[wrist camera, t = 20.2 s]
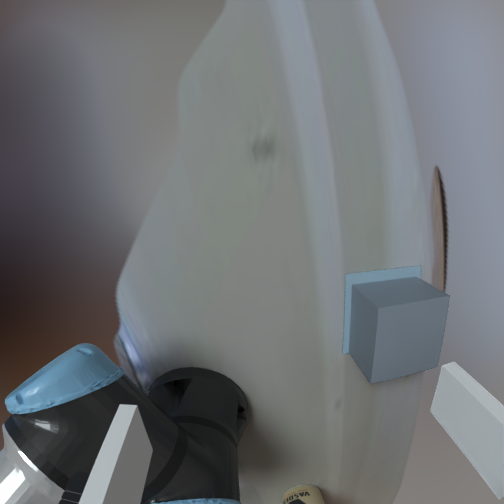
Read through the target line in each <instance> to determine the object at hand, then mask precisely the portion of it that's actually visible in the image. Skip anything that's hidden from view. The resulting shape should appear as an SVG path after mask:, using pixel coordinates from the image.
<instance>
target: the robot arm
mask: <svg viewBox="0 0 504 504" xmlns="http://www.w3.org/2000/svg"><path fill="white" fill-rule="evenodd" d="M5 404H6V406H7V409H8V411H9V412H10V413H12V415H11V416H10V417H9V418H8V419H7V420H6V422H5V423H4V424H3V425H2V427H3V435H4V442H5V443H4V448H3V450H2V451H1V452H0V504H241V502H240V492H239V477H238V459H237V445H238V443H239V441H240V438H241V436H242V434H243V432H244V429H245V427H246V424H247V419H248V411H247V402H246V399H245V396H244V394H243V392H242V391H241V389H240V388H239V387H238V386H237V385H236V384H235V383H234V382H233V381H231V380H230V379H229V378H227V377H225V376H224V375H222V374H220V373H217V372H214V371H211V370H208V369H203V368H180V369H175V370H172V371H169V372H167V373H165V374H163V375H162V376H160V377H159V378H158V379H157V380H156V381H155V382H154V383H153V384H152V386H151V388H150V390H149V393H148V396H147V395H146V394H145V393H143V392H142V391H141V390H140V389H139V388H138V387H137V386H136V385H135V384H134V383H133V382H132V381H131V380H130V379H129V378H128V377H127V376H126V375H125V371H124V370H123V369H122V368H120V367H118V366H117V365H116V364H114V363H113V362H112V361H111V360H110V359H109V358H108V357H107V356H106V355H105V354H104V353H103V352H102V351H101V350H100V349H99V348H98V347H96V346H94V345H92V344H88V343H86V344H79V345H77V346H75V347H73V348H71V349H70V350H68V351H66V352H65V353H63V354H62V355H60V356H59V357H57V358H56V359H55V360H53V361H52V362H50V363H49V364H47V365H46V366H45V367H43V368H42V369H40V370H39V371H38V372H37V373H35V374H34V375H32V376H31V377H30V378H29V379H27V380H26V381H25V382H24V383H22V384H21V385H20V386H19V387H18V388H17V389H16V390H14V391H13V392H12V393H10V394H9V395H8V397H7V398H6V399H5ZM430 412H431V413H432V415H434V417H435V418H436V419H437V421H438V422H439V423H440V424H441V426H442V427H443V428H444V429H445V431H446V432H447V433H448V434H449V436H450V437H451V438H452V439H453V441H454V442H455V443H456V445H457V446H458V447H459V448H460V450H461V451H462V452H463V453H464V455H465V456H466V457H467V459H468V460H469V461H470V462H471V464H472V465H473V466H474V468H475V469H476V470H477V471H478V473H479V474H480V475H481V477H482V478H483V479H484V481H485V482H486V483H487V484H488V486H489V487H490V489H491V490H492V491H493V493H494V494H495V495H496V497H497V498H498V499H501V498H503V497H504V406H503V405H502V404H501V403H500V402H499V401H498V400H497V399H495V398H494V397H493V396H492V395H491V394H490V393H489V392H488V391H487V390H486V389H484V388H483V387H482V386H481V385H480V384H479V383H478V382H477V381H476V380H475V379H473V378H472V377H471V376H470V375H469V374H468V373H467V372H466V371H464V370H463V369H462V368H461V367H460V366H458V364H456V363H455V362H452V363H449V364H445V365H443V366H442V368H441V372H440V376H439V380H438V384H437V388H436V391H435V395H434V399H433V402H432V405H431V409H430Z"/></svg>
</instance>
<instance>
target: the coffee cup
mask: <svg viewBox="0 0 504 504" xmlns="http://www.w3.org/2000/svg"><path fill="white" fill-rule="evenodd" d="M282 503H283V504H325V502H324V500H323V497H322V495H321V492H320V490H319V488H318V487H317V486H315V485H311V484H303V485H298V486H294V487H292V488H290V489H288V490H287V491H285V492H284V494H283V496H282Z"/></svg>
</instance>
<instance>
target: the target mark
mask: <svg viewBox="0 0 504 504" xmlns="http://www.w3.org/2000/svg"><path fill="white" fill-rule="evenodd" d="M415 276H416V277H418V278H419V279H421V265H419V266H411V267H403V268H394V269H386V270H377V271H368V272H359V273H349V274H345V307H344V332H343V351H342V354H347V353H349V337H350V318H351V291H352V284H360V283H369V282H377V281H385V280H393V279H400V278H408V277H415Z"/></svg>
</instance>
